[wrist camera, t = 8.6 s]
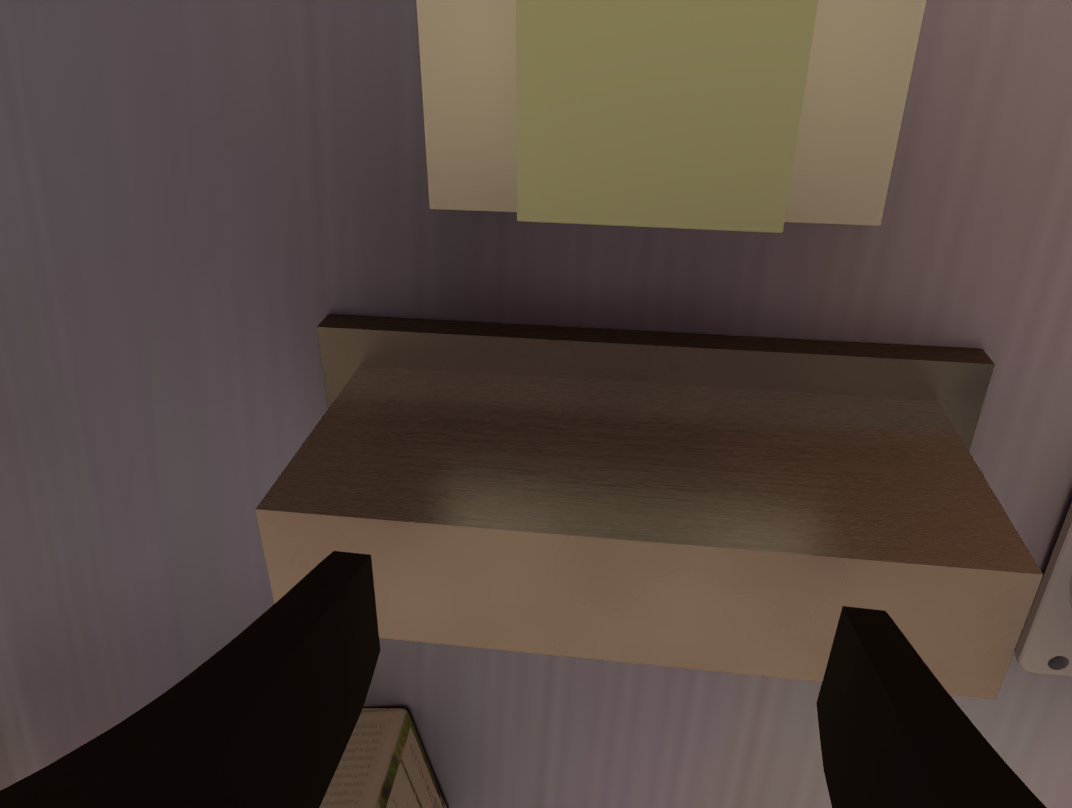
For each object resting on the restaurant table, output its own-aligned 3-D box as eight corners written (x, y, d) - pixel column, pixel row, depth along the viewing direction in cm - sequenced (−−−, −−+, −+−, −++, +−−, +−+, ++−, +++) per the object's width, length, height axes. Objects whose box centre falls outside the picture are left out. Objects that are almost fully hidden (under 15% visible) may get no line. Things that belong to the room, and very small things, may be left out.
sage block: (777, -73, 16) (834, -82, 10) (749, 150, 18) (785, 236, 12) (560, -74, 16) (511, -83, 11) (557, 143, 18) (513, 223, 13)
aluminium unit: (982, 349, 19) (1126, 531, 13) (933, 521, 22) (1037, 741, 16) (327, 314, 21) (194, 460, 15) (349, 476, 24) (241, 657, 18)
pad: (950, -162, 15) (960, -165, 15) (875, 219, 18) (880, 225, 18) (413, -153, 16) (406, -156, 16) (435, 203, 20) (429, 208, 19)
